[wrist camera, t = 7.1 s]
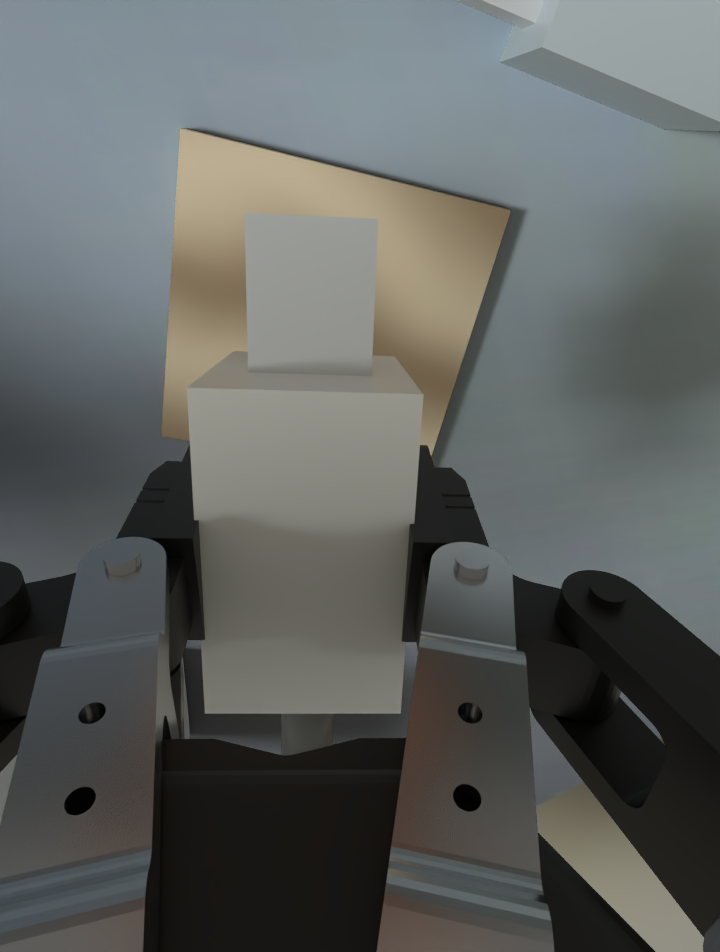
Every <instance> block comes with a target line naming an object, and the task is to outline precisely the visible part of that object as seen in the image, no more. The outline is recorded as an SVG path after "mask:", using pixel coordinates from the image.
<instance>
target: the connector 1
mask: <svg viewBox="0 0 720 952" xmlns="http://www.w3.org/2000/svg"><path fill="white" fill-rule="evenodd" d="M244 214H245V258H246V302H247V347H248V352H245V351H233V352H232V353H230V354H229V355H228V356H227V357H225V358H224V359H223V360H221V361H220V362H219V363H218V364H216V365H215V366H214V367H212V368H211V369H210V370H209V371H207V372H206V373H205V374H204V375H202V376H201V377H200V378H198V379H197V380H196V381H195V382H193V383H192V384H191V385H189V386H188V387H187V403H188V420H189V438H190V456H191V474H192V492H193V510H194V520H199V534H200V553H201V572H202V591H203V609H204V628H205V640H201V653H202V671H203V689H204V707H205V714H281V755H294V754H298V753H302V752H306V751H310V750H314V749H318V748H322V747H326V746H331V745H333V714H401V701H402V687H403V673H404V660H405V646H406V642H402V628H403V614H404V599H405V585H406V570H407V556H408V542H409V527H410V524H414V521H415V507H416V493H417V479H418V465H419V451H420V437H421V423H422V409H423V395H424V394H423V393H422V392H421V390H420V389H419V388H418V386H417V385H416V384H415V383H414V381H413V380H412V379H411V377H410V376H409V375H408V373H407V372H406V371H405V369H404V368H403V367H402V365H401V364H400V363H399V361H398V360H397V359H396V357H395V356H372V354H373V331H374V308H375V285H376V262H377V239H378V219H372V218H349V217H327V216H304V215H282V214H259V213H244Z"/></svg>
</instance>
